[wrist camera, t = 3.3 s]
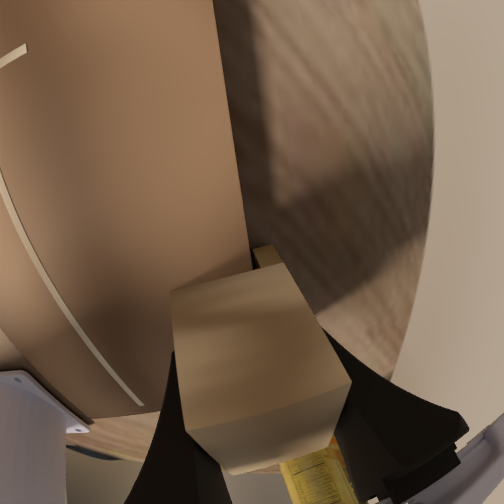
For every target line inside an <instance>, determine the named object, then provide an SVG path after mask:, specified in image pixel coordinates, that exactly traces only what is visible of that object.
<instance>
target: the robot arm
mask: <svg viewBox="0 0 504 504" xmlns="http://www.w3.org/2000/svg"><path fill="white" fill-rule="evenodd" d="M321 328H322V327H321ZM322 330H323V331H324V333H325V335H326V337H327V338H328V340H329V342H330V344H331V345H332V347H333V349H334V351H335V352H336V354H337V356H338V358H339V360H340V361H341V363H342V365H343V367H344V368H345V370H346V372H347V374H348V376H349V377H350V379H351V381H352V383H351V386H350V389H349V392H348V395H347V398H346V401H345V403H344V406H343V409H342V412H341V414H340V417H339V420H338V422H337V425H336V427H335V430H334V432H333V433H334V436H335V438H336V441H337V443H338V446H339V449H340V451H341V454H342V457H343V459H344V462H345V465H346V468H347V471H348V474H349V477H350V480H351V483H352V486H353V489H354V492H355V496H356V498H357V500H358V502H359V503H362V502H365V501H368V500H370V499H372V498H374V497H377V498H378V500H379V502H378V503H376V504H405V503H407V502H408V504H482V503H483V502H484V501H485V499H486V498H487V497H488V496H489V495H490V494H491V493H492V492H493V490H494V489H495V488H496V487H497V486H498V484H499V483H500V482H501V481H502V479H503V478H504V413H503V414H502V415H500V416H499V417H498V418H497V419H496V420H495V421H494V422H493V423H492V424H490V425H488V426H487V427H486V428H485V429H483V430H482V431H481V432H480V433H479V434H477V435H476V436H475V437H474V438H473V439H472V440H470V441H469V442H468V443H467V445H466V446H465V447H464V448H462V449H461V450H460V451H459V452H457V453H456V452H455V451H454V450H455V449H457V447H456V445H455V443H454V442H456V441H457V440H458V439H459V438H461V437H462V436H463V435H464V434H466V433H467V432H468V431H469V427H468V425H467V424H466V422H465V420H464V419H463V418H462V416H461V415H460V414H459V413H458V412H456V411H453V410H450V409H447V408H444V407H441V406H438V405H436V404H433V403H431V402H428V401H426V400H424V399H421V398H419V397H417V396H415V395H413V394H411V393H409V392H407V391H405V390H403V389H401V388H400V387H398V386H396V385H394V384H393V383H391V382H389V381H388V380H386V379H385V378H383V377H382V376H380V375H379V374H377V373H376V372H374V371H373V370H371V369H370V368H369V367H367V366H366V365H365V364H363V363H362V362H361V361H359V360H358V359H357V358H356V357H354V356H353V355H352V354H351V353H350V352H348V351H347V350H346V349H345V348H344V347H343V346H341V345H340V344H339V343H338V342H337V341H336V340H335V339H334V338H333V337H332V336H330V335H329V334H328V333H327V332H326V331H325V330H324V329H323V328H322ZM87 432H90V427H89V426H88V425H87V424H86V423H85V422H83V421H82V420H81V419H79V418H78V417H77V416H76V415H74V414H73V413H72V412H71V411H69V410H68V409H67V408H66V407H65V406H63V405H62V404H61V403H60V402H59V401H58V400H56V399H55V398H54V397H53V396H52V395H51V394H50V393H49V392H48V391H46V390H45V389H44V388H43V387H42V386H41V385H40V384H39V383H38V382H37V381H36V380H35V379H34V378H33V377H32V376H31V375H30V374H29V373H27V372H26V371H23V370H16V371H5V372H0V504H67V499H66V498H67V497H66V468H65V467H66V465H65V462H66V459H65V458H66V433H87ZM124 504H232V501H231V498H230V495H229V493H228V490H227V487H226V483H225V481H224V478H223V474H222V471H221V467H220V464H219V463H218V462H217V461H216V460H215V459H213V458H212V457H211V456H210V455H209V454H208V453H207V452H206V451H205V450H204V449H203V448H202V447H201V446H200V445H199V444H198V443H197V442H196V441H195V440H194V439H193V438H192V437H191V436H190V435H189V434H188V433H187V432H186V430H185V424H184V418H183V412H182V405H181V398H180V391H179V384H178V376H177V367H176V358H175V350H174V351H173V352H172V353H171V361H170V369H169V375H168V380H167V386H166V390H165V395H164V400H163V404H162V408H161V412H160V416H159V420H158V423H157V427H156V430H155V434H154V437H153V440H152V443H151V446H150V448H149V451H148V454H147V456H146V459H145V461H144V464H143V466H142V469H141V471H140V473H139V475H138V478H137V480H136V481H135V483H134V486H133V488H132V490H131V492H130V494H129V496H128V497H127V499H126V501H125V502H124Z"/></svg>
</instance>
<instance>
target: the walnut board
mask: <svg viewBox="0 0 504 504" xmlns="http://www.w3.org/2000/svg"><path fill="white" fill-rule="evenodd" d="M252 270H253V268H252V261H251V255H250V248H249V242H248V235H247V229H246V222H245V215H244V209H243V202H242V196H241V189H240V182H239V176H238V169H237V162H236V156H235V149H234V142H233V136H232V129H231V122H230V116H229V109H228V102H227V96H226V89H225V82H224V76H223V69H222V62H221V55H220V49H219V42H218V35H217V28H216V22H215V15H214V8H213V1H212V0H0V328H1V329H2V331H3V332H4V333H5V334H6V336H7V337H8V338H9V339H10V341H11V342H12V343H13V344H14V345H15V347H16V348H17V349H18V350H19V351H20V352H21V353H22V355H23V356H24V357H25V358H26V359H27V360H28V361H29V362H30V363H31V364H32V365H33V367H34V368H35V369H36V370H37V371H38V372H39V373H40V374H41V375H42V376H43V377H44V378H45V379H46V380H47V381H48V382H49V383H50V384H51V385H52V386H53V387H54V388H56V389H57V390H58V391H59V392H60V393H61V394H62V395H63V396H64V397H65V398H66V399H68V400H69V401H70V402H71V403H72V404H73V405H74V406H76V407H77V408H78V409H79V410H80V411H82V412H83V413H84V414H85V415H86V416H88V417H89V418H90V419H98V418H110V417H119V416H128V415H136V414H144V413H151V412H157V411H161V408H162V404H163V400H164V395H165V390H166V386H167V380H168V375H169V369H170V361H171V353H172V352H173V351H174V350H175V349H174V339H173V328H172V316H171V302H170V291H173V290H177V289H181V288H185V287H189V286H193V285H197V284H201V283H205V282H209V281H213V280H217V279H221V278H225V277H229V276H233V275H236V274H240V273H244V272H248V271H252Z"/></svg>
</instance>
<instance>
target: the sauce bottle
mask: <svg viewBox="0 0 504 504" xmlns="http://www.w3.org/2000/svg"><path fill="white" fill-rule="evenodd" d="M279 467H280V470H281V472H282V475H283V478H284V481H285V484H286V486H287V489H288V491H289V494H290V497H291V500H292V502H293V504H368V502H367V501H365V502H362V503H359V502H358V500H357V498H356V496H355V492H354V489H353V486H352V483H351V480H350V477H349V474H348V471H347V468H346V465H345V462H344V459H343V457H342V454H341V451H340V449H339V446H338V443H337V441H336V438H335V436H334V433H333V435H332V437H331V440H330V442H329V445H328V447H326V448H324V449H321V450H318V451H316V452H313V453H310V454H307V455H304V456H301V457H298V458H295V459H292V460H289V461H286V462H283V463H279Z"/></svg>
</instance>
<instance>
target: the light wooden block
mask: <svg viewBox="0 0 504 504" xmlns="http://www.w3.org/2000/svg"><path fill="white" fill-rule="evenodd" d="M252 251H253V258H254V265H255V270H252V271H248V272H244V273H240V274H236V275H233V276H229V277H225V278H221V279H217V280H213V281H209V282H205V283H201V284H197V285H193V286H189V287H185V288H181V289H177V290H173V291H170V302H171V316H172V328H173V339H174V349H175V358H176V367H177V376H178V384H179V391H180V398H181V405H182V412H183V418H184V424H185V430H186V432H187V433H188V434H189V435H190V436H191V437H192V438H193V439H194V440H195V441H196V442H197V443H198V444H199V445H200V446H201V447H202V448H203V449H204V450H205V451H206V452H207V453H208V454H209V455H210V456H211V457H212V458H213V459H215V460H216V461H217V462H218V463H219V464H220V465H221V466H222V467H223V468H224V469H225V470H227V471H228V472H229V473H230V474H231V475H236V474H241V473H245V472H249V471H253V470H257V469H261V468H265V467H269V466H272V465H276V464H279V463H283V462H286V461H289V460H292V459H295V458H298V457H301V456H304V455H307V454H310V453H313V452H316V451H318V450H321V449H324V448H326V447H328V445H329V442H330V440H331V437H332V435H333V432H334V430H335V427H336V425H337V422H338V420H339V417H340V414H341V412H342V409H343V406H344V403H345V401H346V398H347V395H348V392H349V389H350V386H351V383H352V381H351V379H350V377H349V376H348V374H347V372H346V370H345V368H344V367H343V365H342V363H341V361H340V360H339V358H338V356H337V354H336V352H335V351H334V349H333V347H332V345H331V344H330V342H329V340H328V338H327V337H326V335H325V333H324V331H323V330H322V328H321V326H320V324H319V323H318V321H317V319H316V317H315V316H314V314H313V312H312V310H311V309H310V307H309V305H308V303H307V302H306V300H305V298H304V297H303V295H302V293H301V291H300V290H299V288H298V286H297V285H296V283H295V281H294V279H293V278H292V276H291V274H290V273H289V271H288V269H287V268H286V266H285V264H284V262H283V261H282V259H281V257H280V256H279V254H278V252H277V251H276V249H275V247H274V246H273V244H272V245H267V246H263V247H259V248H255V249H252Z"/></svg>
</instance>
